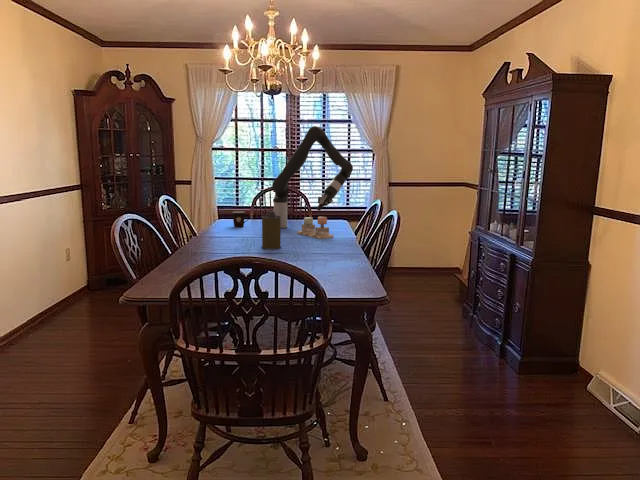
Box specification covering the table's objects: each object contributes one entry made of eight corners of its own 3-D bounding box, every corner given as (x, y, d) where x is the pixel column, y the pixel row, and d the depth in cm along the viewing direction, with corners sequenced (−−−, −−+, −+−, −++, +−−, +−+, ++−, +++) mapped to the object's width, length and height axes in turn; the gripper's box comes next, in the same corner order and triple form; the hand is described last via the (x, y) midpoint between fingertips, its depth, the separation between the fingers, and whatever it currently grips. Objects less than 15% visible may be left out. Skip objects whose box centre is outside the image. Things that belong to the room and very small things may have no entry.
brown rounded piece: (315, 228, 321) (315, 217, 320) (322, 227, 324) (323, 216, 323) (321, 229, 316) (321, 218, 315) (328, 228, 320) (328, 217, 319)
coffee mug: (230, 227, 353) (230, 212, 351) (235, 225, 361) (235, 211, 359) (246, 228, 350) (245, 213, 348) (251, 226, 358) (251, 211, 356)
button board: (297, 233, 333) (297, 224, 332) (309, 231, 339) (309, 222, 338) (320, 239, 314) (320, 229, 313) (333, 237, 321) (333, 227, 320)
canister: (283, 248, 285) (283, 212, 281) (264, 250, 281) (264, 213, 277) (277, 245, 294) (277, 210, 291) (259, 246, 291) (259, 210, 287)
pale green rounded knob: (302, 228, 332) (302, 217, 331) (309, 227, 335) (309, 217, 334) (307, 229, 328) (307, 218, 326) (314, 228, 331) (314, 218, 330)
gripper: (323, 184, 331) (307, 204, 326) (336, 185, 321) (321, 206, 316) (329, 192, 335) (314, 212, 330) (343, 193, 325) (328, 214, 320)
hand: (317, 209), depth 323 cm, fingers closed
